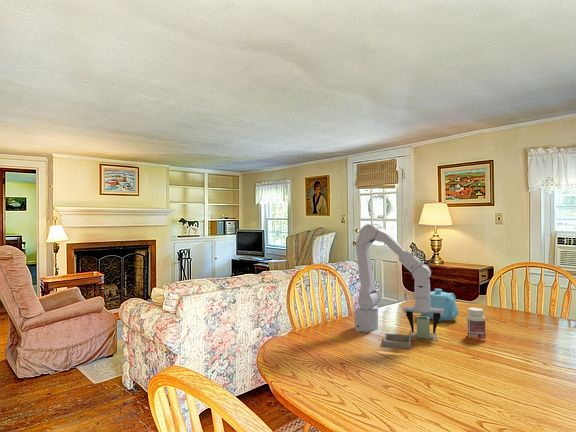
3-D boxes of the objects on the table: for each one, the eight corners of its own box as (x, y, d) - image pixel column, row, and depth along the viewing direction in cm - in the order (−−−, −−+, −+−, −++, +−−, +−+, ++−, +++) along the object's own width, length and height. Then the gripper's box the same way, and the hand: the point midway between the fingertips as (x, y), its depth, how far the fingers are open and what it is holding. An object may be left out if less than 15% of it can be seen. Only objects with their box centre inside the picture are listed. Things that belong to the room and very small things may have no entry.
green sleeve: (417, 337, 138) (416, 319, 139) (417, 333, 143) (416, 315, 143) (429, 338, 137) (429, 319, 137) (429, 334, 141) (429, 316, 141)
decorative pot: (415, 320, 165) (414, 290, 165) (424, 312, 178) (424, 284, 178) (454, 326, 155) (453, 294, 156) (461, 317, 169) (460, 287, 169)
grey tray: (383, 348, 130) (382, 341, 130) (385, 339, 139) (385, 333, 139) (410, 350, 127) (410, 343, 127) (411, 342, 136) (411, 335, 136)
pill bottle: (489, 341, 136) (488, 310, 136) (474, 342, 135) (473, 311, 135) (478, 335, 142) (478, 306, 142) (464, 336, 141) (463, 307, 141)
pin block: (409, 341, 137) (409, 329, 137) (409, 333, 146) (409, 322, 146) (438, 343, 133) (437, 332, 133) (436, 335, 143) (436, 324, 143)
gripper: (442, 295, 141) (443, 330, 141) (403, 293, 146) (403, 327, 146) (443, 299, 135) (444, 336, 135) (402, 297, 140) (403, 332, 139)
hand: (423, 332), depth 140 cm, fingers open, 7 cm apart
